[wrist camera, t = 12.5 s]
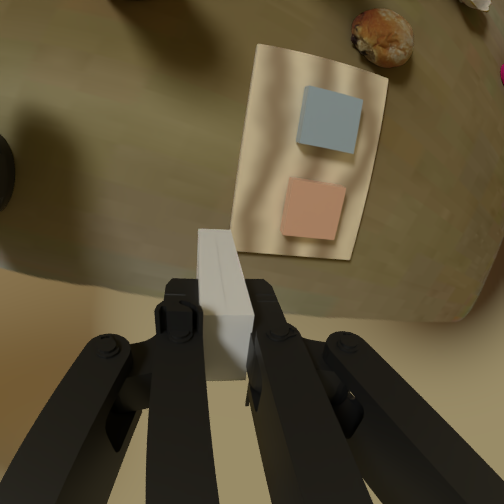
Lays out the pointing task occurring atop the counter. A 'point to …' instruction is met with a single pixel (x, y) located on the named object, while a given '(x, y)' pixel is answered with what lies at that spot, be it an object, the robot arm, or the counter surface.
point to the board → (300, 152)
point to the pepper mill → (502, 73)
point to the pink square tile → (312, 209)
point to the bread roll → (383, 37)
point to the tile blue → (329, 119)
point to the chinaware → (478, 4)
